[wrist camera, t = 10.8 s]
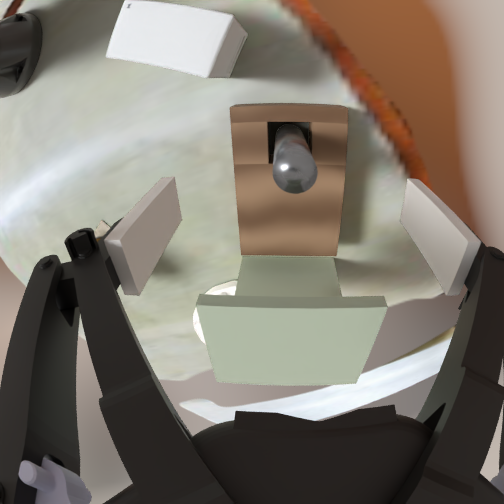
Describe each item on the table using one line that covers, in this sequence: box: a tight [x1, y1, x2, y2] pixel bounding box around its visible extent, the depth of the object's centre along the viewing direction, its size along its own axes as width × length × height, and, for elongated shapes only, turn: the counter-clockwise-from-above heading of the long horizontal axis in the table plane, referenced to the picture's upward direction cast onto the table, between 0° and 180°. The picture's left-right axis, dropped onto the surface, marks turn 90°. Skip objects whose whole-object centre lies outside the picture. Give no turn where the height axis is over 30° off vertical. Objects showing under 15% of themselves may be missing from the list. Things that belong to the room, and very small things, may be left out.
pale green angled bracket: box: [196, 257, 388, 385], centre depth 30 cm, size 11×14×19 cm
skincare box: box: [106, 0, 248, 78], centre depth 21 cm, size 10×6×10 cm, turn 69°
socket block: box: [230, 103, 348, 256], centre depth 32 cm, size 18×12×4 cm, turn 3°
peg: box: [273, 124, 318, 194], centre depth 25 cm, size 3×3×14 cm
